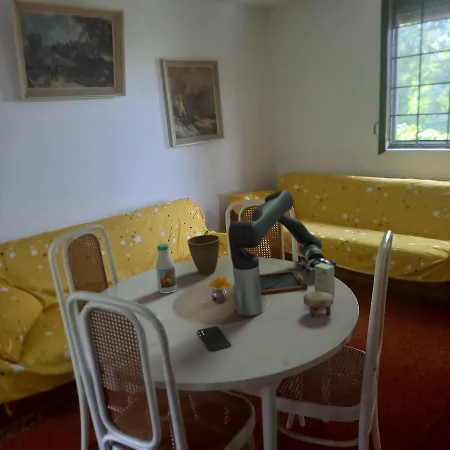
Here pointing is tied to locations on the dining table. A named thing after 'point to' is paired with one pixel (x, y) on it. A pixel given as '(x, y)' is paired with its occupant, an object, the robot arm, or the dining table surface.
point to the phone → (214, 338)
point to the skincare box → (324, 278)
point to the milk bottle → (165, 270)
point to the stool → (318, 301)
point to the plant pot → (204, 252)
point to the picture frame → (281, 282)
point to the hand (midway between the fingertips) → (320, 270)
